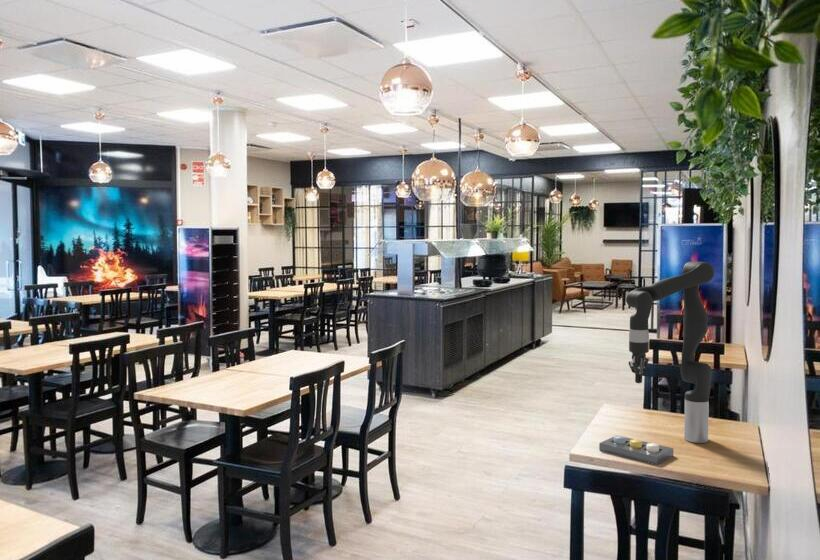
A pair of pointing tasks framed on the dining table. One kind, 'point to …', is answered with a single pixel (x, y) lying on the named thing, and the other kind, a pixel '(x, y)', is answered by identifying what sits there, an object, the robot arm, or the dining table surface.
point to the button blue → (619, 440)
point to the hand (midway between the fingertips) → (638, 382)
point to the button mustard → (636, 443)
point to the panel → (636, 451)
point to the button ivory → (652, 447)
